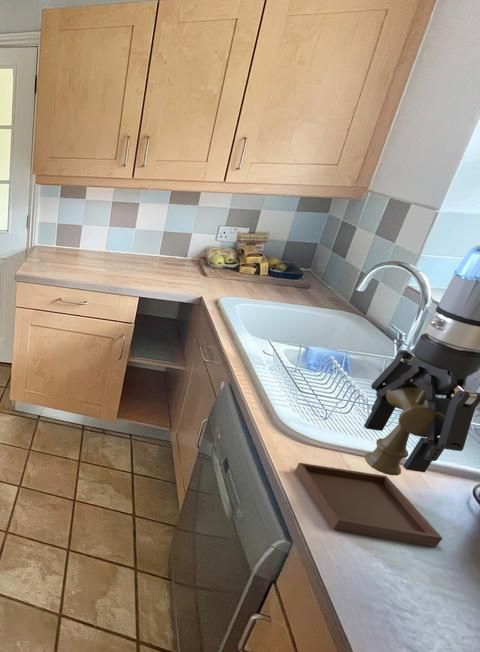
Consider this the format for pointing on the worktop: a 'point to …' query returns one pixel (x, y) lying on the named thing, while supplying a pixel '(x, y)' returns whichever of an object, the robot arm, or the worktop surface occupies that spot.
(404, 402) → the kendama
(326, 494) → the tray
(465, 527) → the worktop surface
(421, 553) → the worktop surface
